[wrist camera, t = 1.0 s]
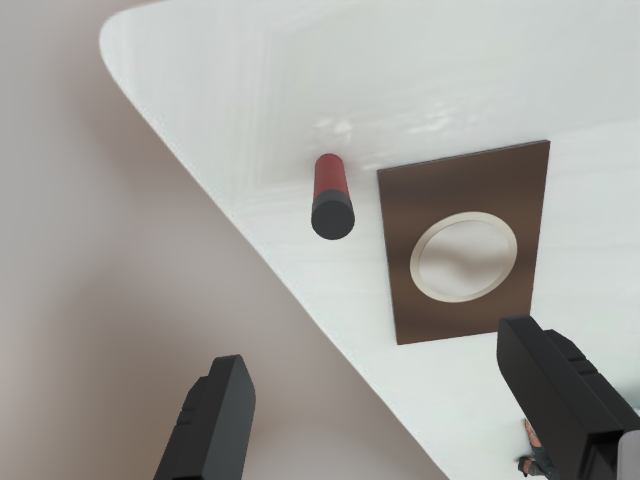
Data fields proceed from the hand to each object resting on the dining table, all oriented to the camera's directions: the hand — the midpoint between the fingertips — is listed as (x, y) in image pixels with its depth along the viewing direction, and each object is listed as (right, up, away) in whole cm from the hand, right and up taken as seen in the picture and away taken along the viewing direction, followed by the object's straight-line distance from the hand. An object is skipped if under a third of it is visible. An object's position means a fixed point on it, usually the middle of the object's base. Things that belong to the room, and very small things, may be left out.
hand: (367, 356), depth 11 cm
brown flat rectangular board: (+12, +2, +23) cm, 26 cm away
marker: (-1, +10, +19) cm, 21 cm away
